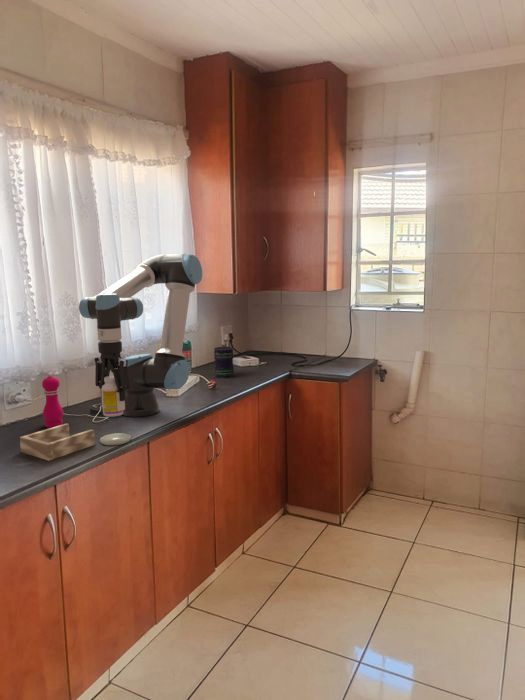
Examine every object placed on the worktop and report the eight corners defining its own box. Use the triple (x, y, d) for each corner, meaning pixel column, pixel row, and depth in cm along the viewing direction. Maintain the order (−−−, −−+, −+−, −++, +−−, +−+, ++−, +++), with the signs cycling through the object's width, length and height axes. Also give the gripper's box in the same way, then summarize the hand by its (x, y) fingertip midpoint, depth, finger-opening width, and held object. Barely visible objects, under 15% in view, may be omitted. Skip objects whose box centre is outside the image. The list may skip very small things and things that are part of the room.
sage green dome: (116, 434, 195) (116, 431, 195) (137, 439, 189) (136, 436, 189) (94, 442, 187) (93, 439, 186) (114, 447, 181) (114, 444, 181)
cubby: (67, 437, 192) (66, 423, 191) (94, 444, 184) (93, 430, 183) (20, 452, 178) (19, 437, 177) (49, 460, 170) (47, 445, 169)
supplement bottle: (124, 416, 184) (122, 378, 182) (104, 418, 182) (102, 379, 180) (122, 411, 190) (120, 374, 188) (102, 413, 188) (100, 376, 186)
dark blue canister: (226, 379, 281) (225, 350, 279) (210, 377, 286) (210, 349, 284) (237, 375, 290) (236, 347, 287) (222, 374, 295) (221, 346, 292)
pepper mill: (66, 422, 210) (63, 370, 207) (60, 428, 203) (56, 374, 200) (47, 422, 210) (43, 371, 207) (40, 428, 203) (36, 375, 199)
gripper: (81, 340, 185) (85, 407, 188) (121, 344, 174) (125, 415, 178) (99, 337, 191) (102, 402, 194) (139, 341, 180) (142, 410, 184)
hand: (113, 408), depth 186 cm, fingers closed on supplement bottle, 7 cm apart
